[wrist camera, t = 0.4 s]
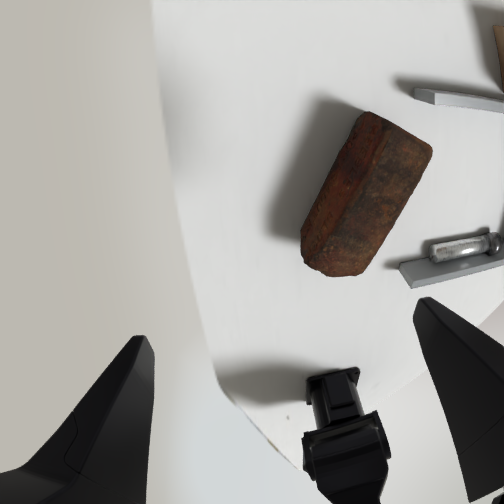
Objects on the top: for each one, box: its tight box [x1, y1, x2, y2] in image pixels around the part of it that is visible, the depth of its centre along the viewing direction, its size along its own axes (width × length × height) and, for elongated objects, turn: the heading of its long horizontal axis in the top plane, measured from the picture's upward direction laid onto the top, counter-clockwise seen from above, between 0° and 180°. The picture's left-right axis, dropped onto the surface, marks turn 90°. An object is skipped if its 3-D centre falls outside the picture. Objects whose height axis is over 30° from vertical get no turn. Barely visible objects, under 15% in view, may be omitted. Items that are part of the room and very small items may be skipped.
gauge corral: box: [399, 88, 504, 289], centre depth 20 cm, size 16×15×3 cm
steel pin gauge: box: [429, 232, 502, 263], centre depth 23 cm, size 2×8×2 cm, turn 97°
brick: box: [300, 111, 433, 277], centre depth 19 cm, size 11×4×5 cm, turn 160°
